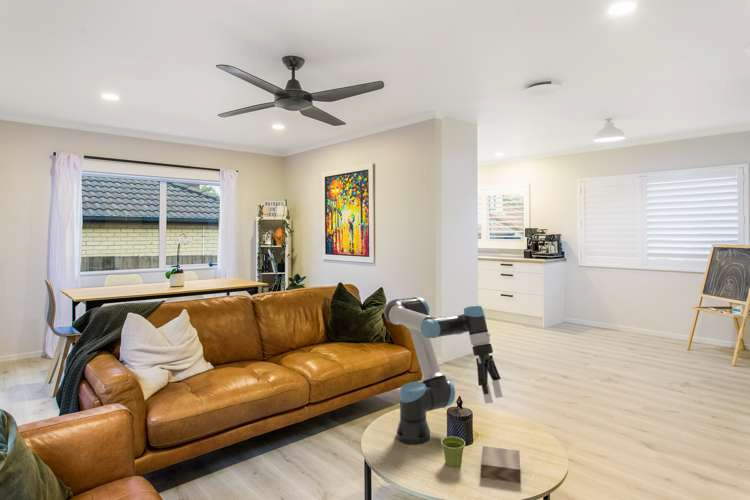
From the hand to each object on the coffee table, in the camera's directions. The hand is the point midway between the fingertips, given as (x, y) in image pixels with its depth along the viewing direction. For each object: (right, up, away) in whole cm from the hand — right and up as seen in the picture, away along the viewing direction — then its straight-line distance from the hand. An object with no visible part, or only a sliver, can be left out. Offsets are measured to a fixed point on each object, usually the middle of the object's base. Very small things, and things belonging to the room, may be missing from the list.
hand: (494, 400), depth 163 cm
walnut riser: (+2, -27, 0) cm, 27 cm away
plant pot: (-15, -27, +5) cm, 31 cm away
